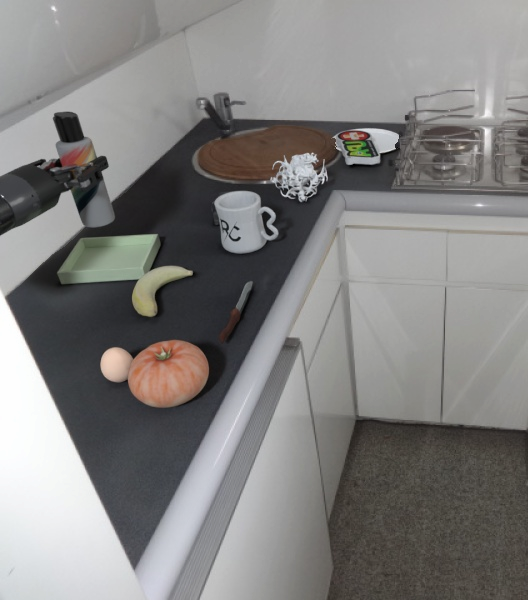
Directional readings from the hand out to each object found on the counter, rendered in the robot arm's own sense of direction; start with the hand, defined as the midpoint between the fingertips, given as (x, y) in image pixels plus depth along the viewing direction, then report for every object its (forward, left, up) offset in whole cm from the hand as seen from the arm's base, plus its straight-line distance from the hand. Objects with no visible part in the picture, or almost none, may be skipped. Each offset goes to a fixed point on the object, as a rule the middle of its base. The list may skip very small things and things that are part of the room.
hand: (90, 159), depth 104 cm
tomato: (+18, -41, -21) cm, 49 cm away
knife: (+25, -22, -21) cm, 40 cm away
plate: (+53, +57, -20) cm, 80 cm away
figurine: (+34, +27, -10) cm, 45 cm away
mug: (+25, +2, -21) cm, 33 cm away
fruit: (+11, -15, -21) cm, 28 cm away
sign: (+55, +49, -18) cm, 76 cm away
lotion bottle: (-1, -3, -11) cm, 11 cm away
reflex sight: (+18, +17, -21) cm, 33 cm away
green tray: (-1, -2, -21) cm, 21 cm away
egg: (+10, -36, -21) cm, 43 cm away
